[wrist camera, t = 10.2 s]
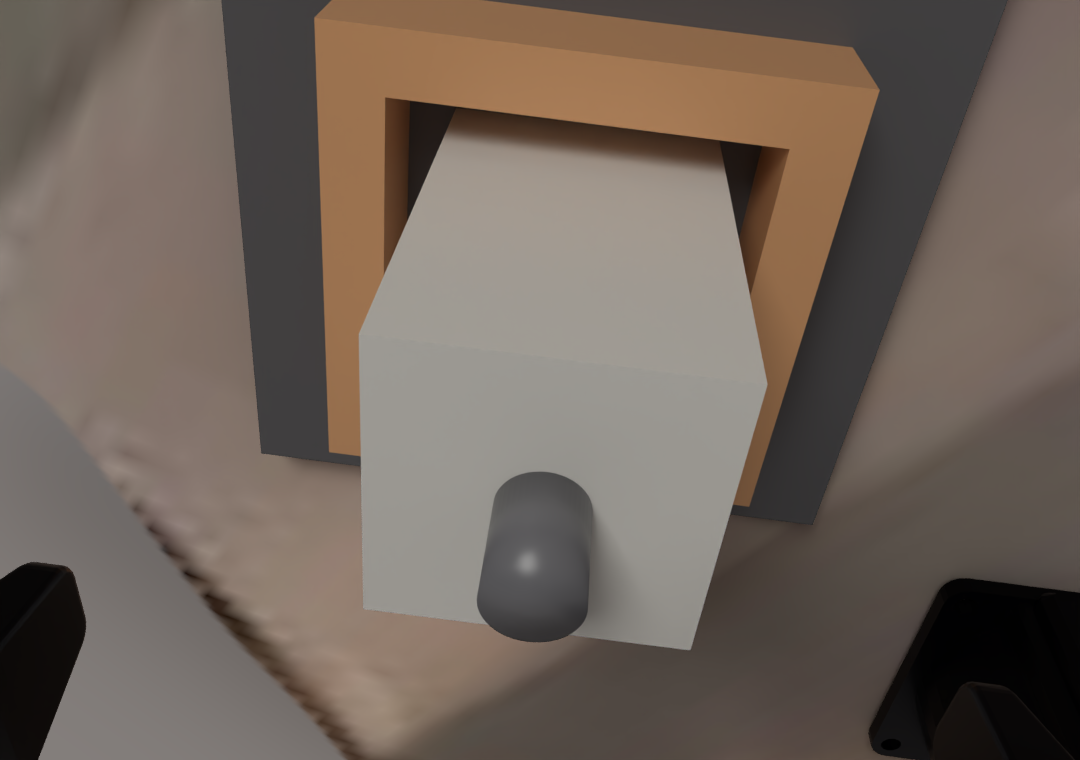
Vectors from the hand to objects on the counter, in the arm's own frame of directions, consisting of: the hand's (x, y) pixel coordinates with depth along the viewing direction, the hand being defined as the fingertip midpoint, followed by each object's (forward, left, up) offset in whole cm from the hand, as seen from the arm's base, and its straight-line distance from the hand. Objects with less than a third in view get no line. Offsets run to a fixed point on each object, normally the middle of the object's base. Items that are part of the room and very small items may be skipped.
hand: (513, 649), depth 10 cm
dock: (0, 0, -10) cm, 10 cm away
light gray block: (0, 0, -9) cm, 9 cm away
